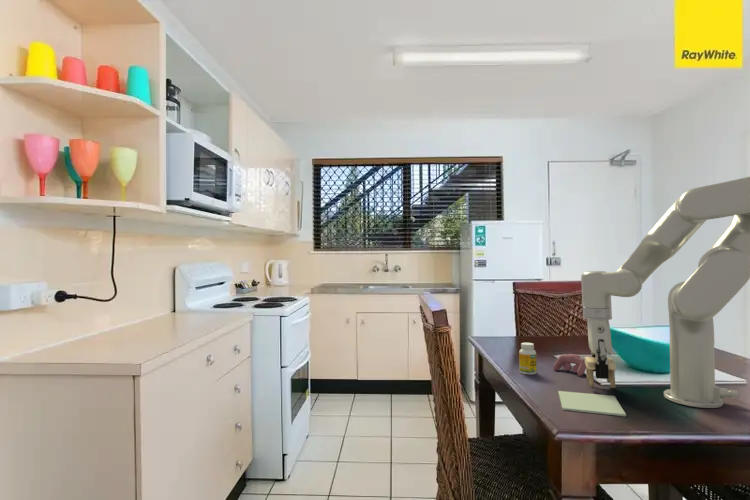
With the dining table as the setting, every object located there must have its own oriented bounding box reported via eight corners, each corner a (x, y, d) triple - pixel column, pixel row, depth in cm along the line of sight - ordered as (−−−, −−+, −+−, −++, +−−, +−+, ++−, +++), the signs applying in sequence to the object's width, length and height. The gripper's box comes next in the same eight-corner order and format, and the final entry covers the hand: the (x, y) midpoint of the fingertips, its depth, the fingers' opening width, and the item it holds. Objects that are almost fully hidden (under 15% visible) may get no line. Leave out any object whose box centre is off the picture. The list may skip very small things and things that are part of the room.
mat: (614, 397, 115) (614, 396, 115) (626, 416, 102) (625, 414, 102) (558, 392, 120) (558, 390, 120) (562, 409, 106) (562, 407, 106)
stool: (611, 381, 125) (610, 357, 125) (616, 388, 118) (615, 363, 119) (585, 380, 127) (584, 356, 128) (588, 386, 121) (587, 362, 121)
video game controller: (586, 379, 137) (591, 359, 139) (579, 375, 134) (584, 354, 136) (558, 373, 145) (563, 353, 147) (551, 369, 143) (556, 349, 144)
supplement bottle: (524, 369, 144) (523, 341, 144) (539, 372, 140) (539, 343, 140) (516, 372, 140) (516, 343, 140) (531, 375, 136) (531, 346, 136)
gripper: (617, 317, 114) (620, 384, 114) (606, 310, 130) (608, 368, 130) (586, 317, 117) (589, 382, 116) (579, 309, 133) (581, 366, 133)
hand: (599, 374), depth 123 cm, fingers closed on stool, 7 cm apart
